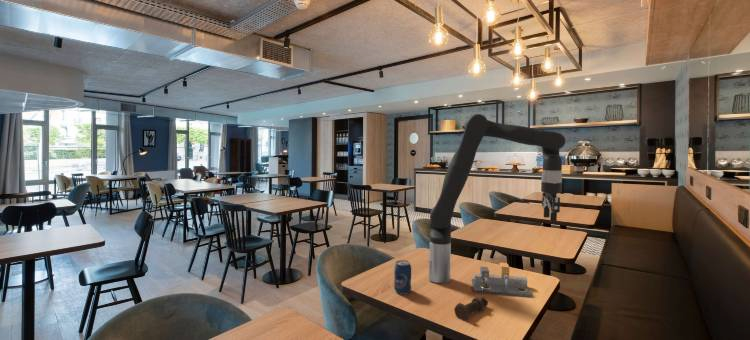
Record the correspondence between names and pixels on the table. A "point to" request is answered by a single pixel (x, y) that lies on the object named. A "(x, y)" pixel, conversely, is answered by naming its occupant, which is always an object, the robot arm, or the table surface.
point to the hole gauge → (499, 284)
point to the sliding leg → (504, 271)
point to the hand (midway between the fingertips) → (549, 219)
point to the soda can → (402, 277)
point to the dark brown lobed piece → (470, 308)
